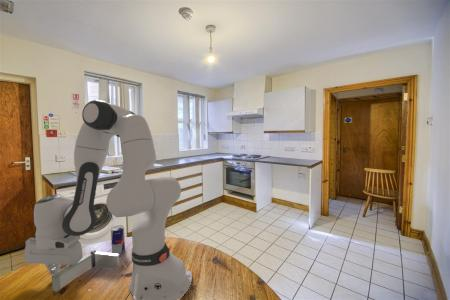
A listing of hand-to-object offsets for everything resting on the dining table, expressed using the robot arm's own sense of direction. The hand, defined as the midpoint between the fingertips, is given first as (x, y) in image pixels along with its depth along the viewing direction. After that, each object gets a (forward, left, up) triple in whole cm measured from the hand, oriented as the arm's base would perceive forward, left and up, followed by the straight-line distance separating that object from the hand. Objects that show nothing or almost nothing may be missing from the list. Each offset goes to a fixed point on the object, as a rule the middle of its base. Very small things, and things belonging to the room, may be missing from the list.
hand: (55, 272), depth 78 cm
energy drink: (-13, -19, -3) cm, 23 cm away
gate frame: (-6, -9, -2) cm, 11 cm away
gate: (-8, -1, -2) cm, 8 cm away
